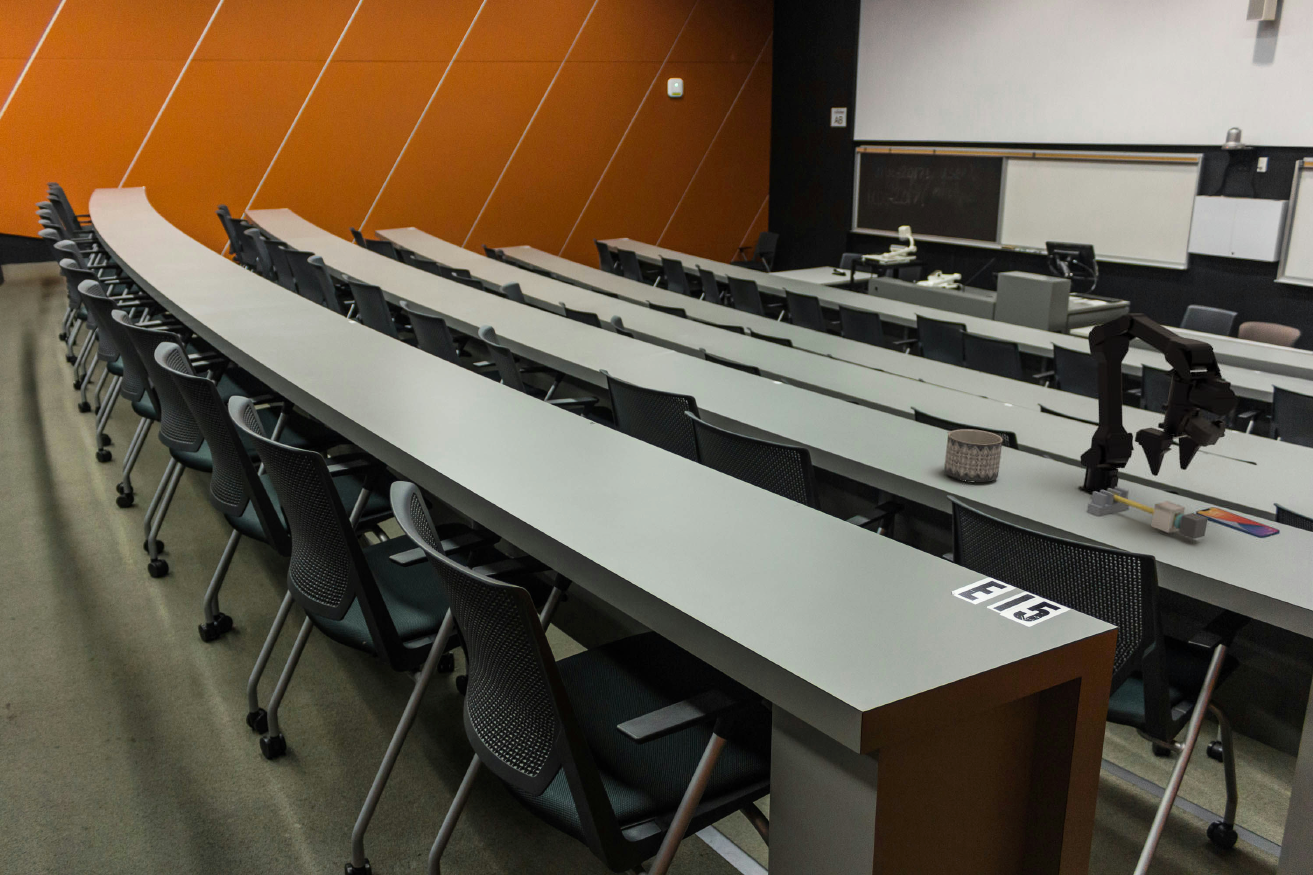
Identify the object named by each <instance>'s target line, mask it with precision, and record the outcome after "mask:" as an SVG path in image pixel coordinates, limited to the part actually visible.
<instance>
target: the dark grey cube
mask: <svg viewBox="0 0 1313 875" xmlns="http://www.w3.org/2000/svg"><path fill="white" fill-rule="evenodd" d="M1208 521H1209V520H1208V518H1206V517H1204V516H1201V515H1198V514H1196V512H1195V513H1194V512H1191V513H1188V514H1184V515H1183V516H1182V519H1181V521H1180V530H1178V534H1179V535H1181V536H1184V537H1186V538H1189V539H1192V540H1194V539H1199V538H1203V537H1205V535H1206V530H1207V526H1208V524H1207V523H1208Z"/></svg>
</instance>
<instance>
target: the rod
mask: <svg viewBox="0 0 1313 875" xmlns="http://www.w3.org/2000/svg"><path fill="white" fill-rule="evenodd" d="M1113 500H1115V501H1118V502H1121V503H1123V504H1126V505H1129V507H1132V508H1134V509H1137V510H1141V511H1143V512H1145V513H1148V514H1152V515H1153V514H1154V509H1155V507H1154V508H1153V507H1150V506H1148V505H1144V504H1143V503H1139V502H1138V501H1134V500H1131V499H1129V498H1127V499H1126V498H1123V497H1120V496H1117V495H1115V494H1114V499H1113ZM1175 519H1176V516H1174V521H1175ZM1174 521H1173V522H1174Z"/></svg>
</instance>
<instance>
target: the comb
mask: <svg viewBox="0 0 1313 875" xmlns="http://www.w3.org/2000/svg"><path fill="white" fill-rule="evenodd" d="M1114 494H1115V495H1117V496H1120V497H1123V498H1126V499H1129V498H1128V497H1129V489H1125V488H1122V487H1120V486H1117V487H1115V488H1114V489H1111V488H1108V489H1107V491H1105V490H1100V493H1099V492H1096V491H1094V492H1093V494H1092V495H1091V500H1090V501H1091V502H1088V503H1087V509H1086V513H1089V514H1092V515H1094V516H1096V517H1101V516H1104V515H1109V514H1113V513H1119V512H1122V511H1126V510H1127V511H1128V510H1129V508H1130V506H1129V505H1126V504H1123V503H1121V502H1118V501H1115V500H1113V499H1114Z"/></svg>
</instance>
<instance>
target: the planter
mask: <svg viewBox="0 0 1313 875" xmlns="http://www.w3.org/2000/svg"><path fill="white" fill-rule="evenodd" d="M946 440H947V441H946V449H945V450H946V451H945V458H944V459H945V460H944V468H943V470H944V472H945V474H946V475H948V476H949V477H952V478H955V479H957V480H959V479H961V480H960V481H962V480H964V481H963V482H967V481H974V482H973V483H983V482H992V481H994V480H996V479H997V478H998V477H999V471H1000V465H1001V456H1002V455H1001V454H1002V447H1003V441H1004V440H1003V438H1002V436H1000V435H998V434H996V433H993V432H989V431H985V430H979V429H972V428H971V429H968V428H967V429H965V428H964V429H962V428H961V429H954V430H951V431H949V432H948V433H947V439H946ZM965 480H966V481H965Z"/></svg>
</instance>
